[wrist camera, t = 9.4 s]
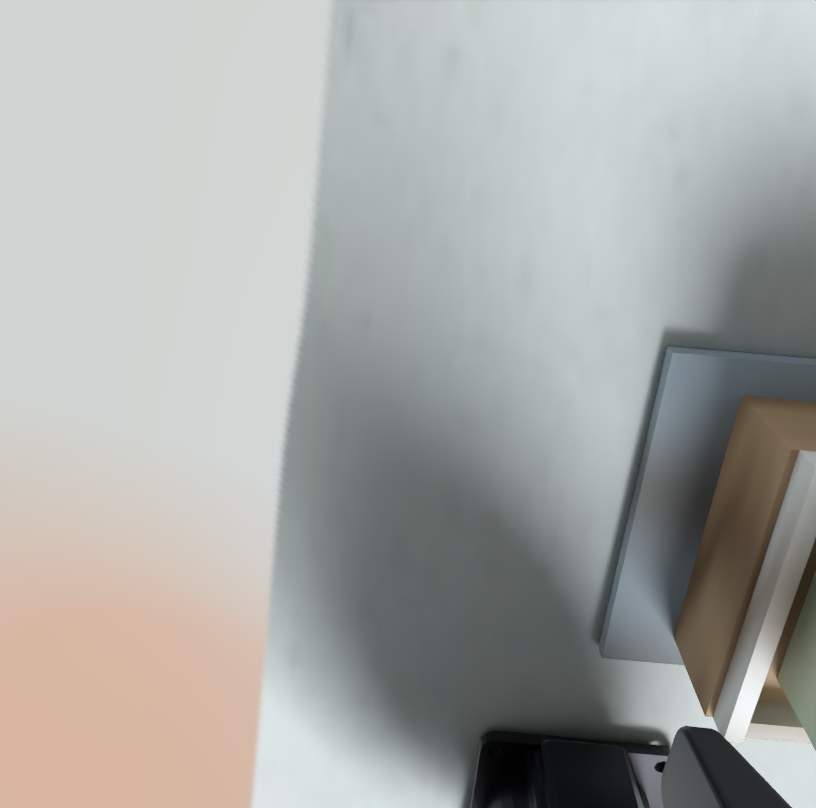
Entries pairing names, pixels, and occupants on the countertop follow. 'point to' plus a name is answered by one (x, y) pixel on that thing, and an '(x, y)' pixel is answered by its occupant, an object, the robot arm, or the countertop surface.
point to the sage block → (802, 666)
